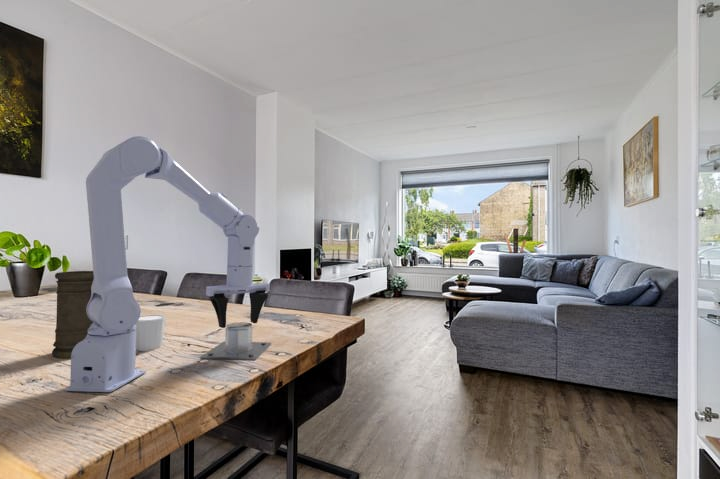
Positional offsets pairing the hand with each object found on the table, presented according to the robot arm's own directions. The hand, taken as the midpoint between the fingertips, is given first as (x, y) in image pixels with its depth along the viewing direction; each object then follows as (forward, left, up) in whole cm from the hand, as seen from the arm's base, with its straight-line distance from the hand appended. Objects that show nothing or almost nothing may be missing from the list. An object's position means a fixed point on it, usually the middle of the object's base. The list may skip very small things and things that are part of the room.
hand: (238, 324), depth 83 cm
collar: (0, 0, -6) cm, 6 cm away
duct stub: (0, 0, -6) cm, 6 cm away
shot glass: (+1, +22, -6) cm, 23 cm away
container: (-4, +35, -6) cm, 36 cm away
